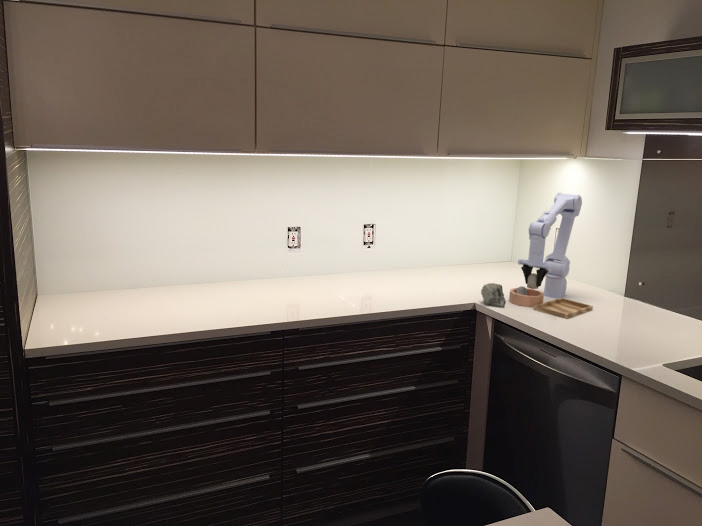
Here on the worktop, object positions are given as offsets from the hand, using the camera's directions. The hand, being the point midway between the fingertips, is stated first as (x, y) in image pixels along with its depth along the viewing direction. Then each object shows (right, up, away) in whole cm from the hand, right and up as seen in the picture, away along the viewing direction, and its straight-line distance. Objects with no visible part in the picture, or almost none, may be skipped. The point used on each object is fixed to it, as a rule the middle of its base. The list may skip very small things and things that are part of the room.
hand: (533, 284), depth 244 cm
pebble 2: (0, -1, 0) cm, 1 cm away
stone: (-16, -8, 0) cm, 18 cm away
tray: (+10, -10, -5) cm, 15 cm away
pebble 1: (-3, -6, +5) cm, 9 cm away
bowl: (-2, -8, +4) cm, 9 cm away
